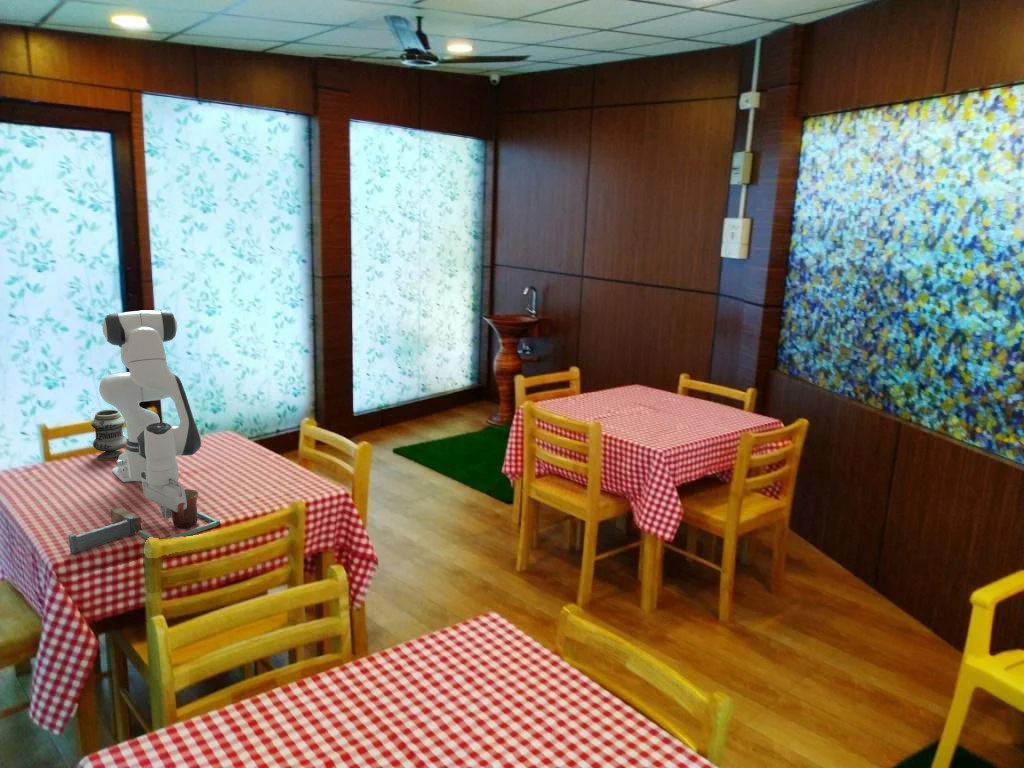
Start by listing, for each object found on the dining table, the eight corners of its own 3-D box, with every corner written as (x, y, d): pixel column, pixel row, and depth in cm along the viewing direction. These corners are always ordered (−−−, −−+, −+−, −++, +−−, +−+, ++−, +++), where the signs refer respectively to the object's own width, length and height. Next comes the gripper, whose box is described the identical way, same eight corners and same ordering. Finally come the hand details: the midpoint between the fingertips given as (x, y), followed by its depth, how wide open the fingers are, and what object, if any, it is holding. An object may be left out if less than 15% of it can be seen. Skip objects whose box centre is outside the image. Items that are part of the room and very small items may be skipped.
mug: (172, 520, 249) (170, 490, 247) (202, 518, 251) (200, 488, 249) (166, 536, 238) (164, 504, 236) (197, 534, 240) (195, 502, 238)
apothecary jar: (105, 463, 301) (100, 418, 297) (88, 457, 308) (82, 412, 303) (135, 455, 311) (130, 411, 307) (117, 449, 317) (113, 406, 313)
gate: (70, 551, 227) (68, 534, 225) (132, 531, 240) (130, 516, 239) (73, 553, 225) (71, 536, 224) (135, 533, 239) (134, 517, 238)
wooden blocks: (111, 521, 248) (110, 509, 247) (174, 502, 264) (173, 491, 263) (132, 532, 240) (130, 520, 240) (195, 512, 257) (194, 500, 256)
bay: (138, 534, 239) (138, 530, 239) (199, 514, 254) (199, 511, 254) (158, 545, 232) (158, 541, 232) (220, 524, 247) (220, 521, 247)
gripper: (190, 480, 240) (193, 523, 243) (156, 465, 252) (160, 506, 255) (170, 486, 235) (174, 529, 238) (136, 470, 247) (141, 512, 250)
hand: (166, 517), depth 247 cm, fingers closed
